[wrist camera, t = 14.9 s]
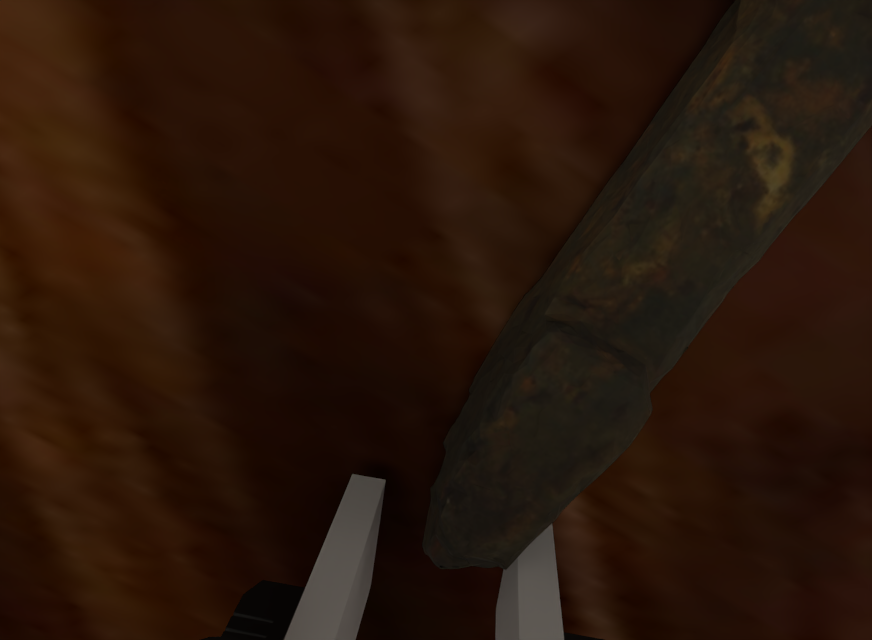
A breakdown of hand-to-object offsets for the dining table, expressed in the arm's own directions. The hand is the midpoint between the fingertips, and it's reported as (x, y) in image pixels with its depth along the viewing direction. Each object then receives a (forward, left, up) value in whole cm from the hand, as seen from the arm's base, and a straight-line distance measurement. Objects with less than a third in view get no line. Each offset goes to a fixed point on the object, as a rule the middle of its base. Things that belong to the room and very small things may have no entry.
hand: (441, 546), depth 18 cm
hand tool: (+4, +9, -2) cm, 10 cm away
